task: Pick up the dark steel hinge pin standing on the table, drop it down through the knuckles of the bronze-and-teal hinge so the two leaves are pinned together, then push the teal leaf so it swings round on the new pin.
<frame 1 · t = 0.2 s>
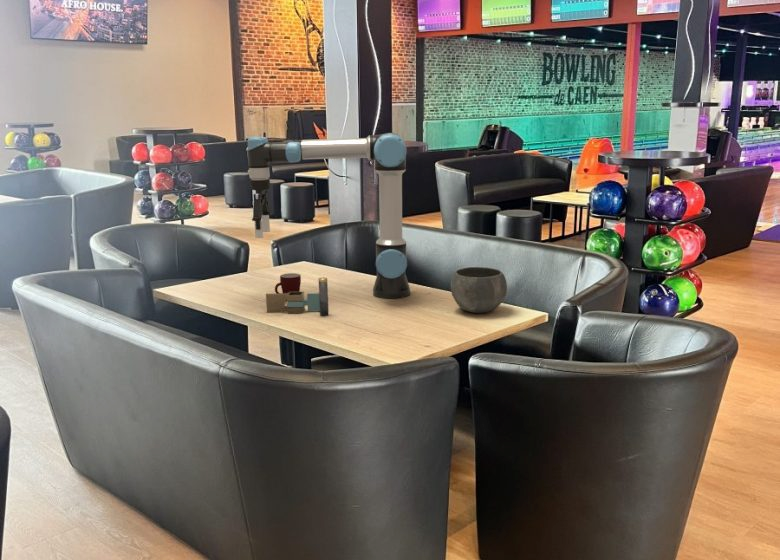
hand: (262, 234, 295), 28 cm above the table, fingers open, 13 cm apart
mug: (288, 300, 308), on the table
bowl: (478, 311, 287), on the table
pin: (324, 315, 285), on the table
leaf b: (306, 301, 290), point 4 cm above the table, hinge at 180.0°
leaf a: (296, 311, 291), on the table
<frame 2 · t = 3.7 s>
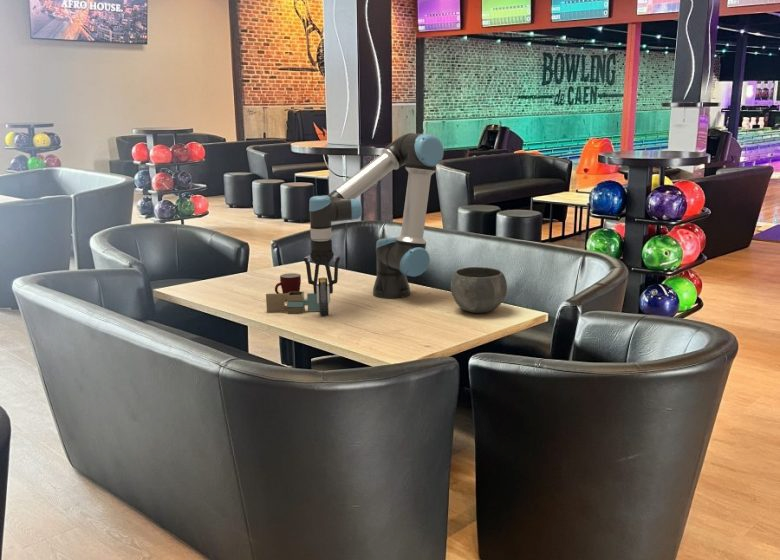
hand: (323, 302, 284), 5 cm above the table, fingers closed on pin, 3 cm apart
pin: (324, 315, 285), on the table, touching gripper
everything else where it was.
when the fingers open (8 cm above the table, at t = 8.1 s): pin drops 3 cm, resting in leaf a.
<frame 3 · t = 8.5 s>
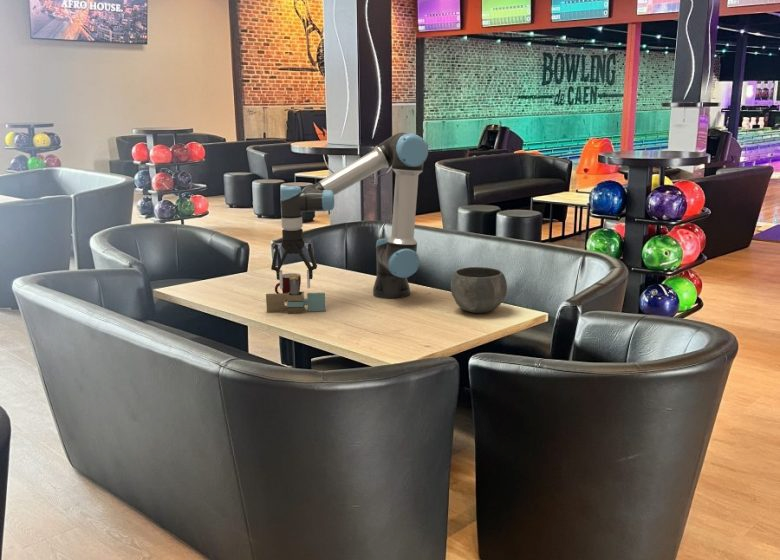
hand: (295, 287, 289), 9 cm above the table, fingers open, 9 cm apart
pin: (296, 311, 291), resting in leaf a
everything else where it was.
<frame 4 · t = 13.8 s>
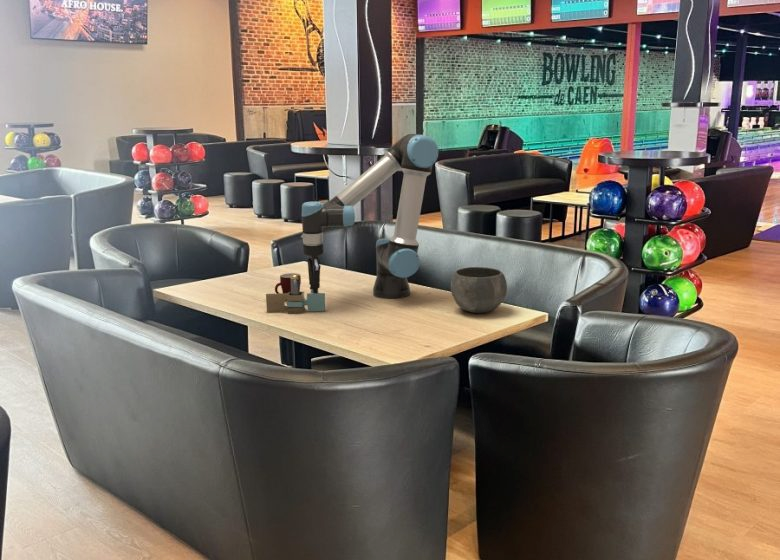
hand: (315, 304, 293), 2 cm above the table, fingers closed
leaf b: (306, 302, 290), point 4 cm above the table, hinge at 176.0°, touching gripper
everything else where it was.
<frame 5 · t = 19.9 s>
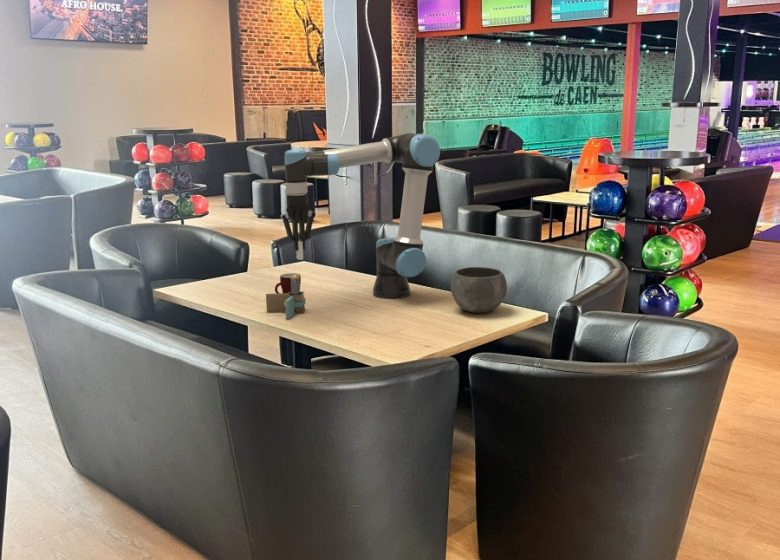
hand: (300, 258, 280), 21 cm above the table, fingers closed
leaf b: (292, 304, 287), point 4 cm above the table, hinge at 79.9°
everything else where it was.
at the end: pin 0.1 cm off-centre on the leaf a, point 0.0 cm above the leaf a's base; pin tilted 1°; leaf b at +80° (first picture: +180°) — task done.
